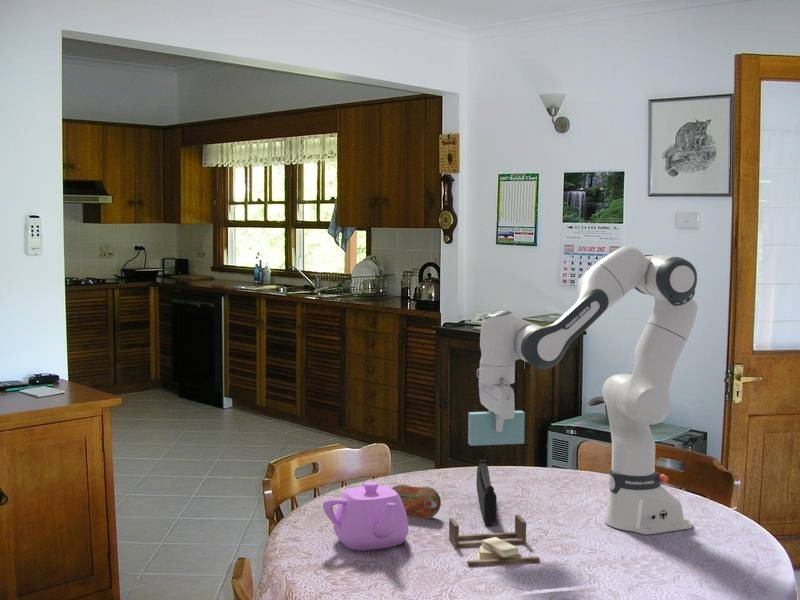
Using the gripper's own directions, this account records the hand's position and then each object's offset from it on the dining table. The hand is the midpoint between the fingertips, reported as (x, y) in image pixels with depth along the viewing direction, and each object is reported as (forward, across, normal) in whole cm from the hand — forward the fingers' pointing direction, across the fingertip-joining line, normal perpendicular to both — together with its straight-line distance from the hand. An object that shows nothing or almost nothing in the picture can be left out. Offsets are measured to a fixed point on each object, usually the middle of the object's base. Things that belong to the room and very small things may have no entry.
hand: (496, 429), depth 224 cm
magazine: (+27, +19, -3) cm, 34 cm away
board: (+4, 0, 0) cm, 4 cm away
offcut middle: (+26, -17, +4) cm, 32 cm away
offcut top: (+25, -17, +4) cm, 31 cm away
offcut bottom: (+28, -17, +4) cm, 33 cm away
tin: (+27, +17, +18) cm, 37 cm away
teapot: (+27, -2, +32) cm, 42 cm away
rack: (+27, -12, +4) cm, 30 cm away
